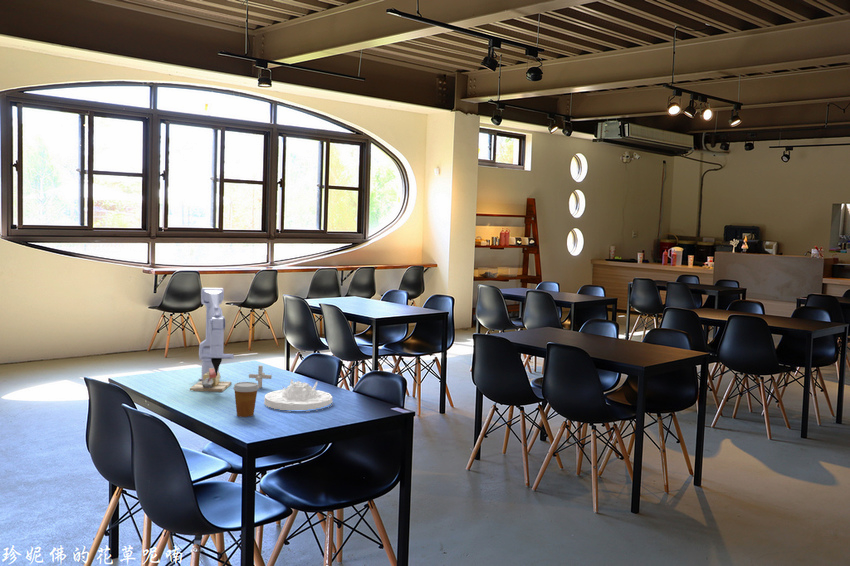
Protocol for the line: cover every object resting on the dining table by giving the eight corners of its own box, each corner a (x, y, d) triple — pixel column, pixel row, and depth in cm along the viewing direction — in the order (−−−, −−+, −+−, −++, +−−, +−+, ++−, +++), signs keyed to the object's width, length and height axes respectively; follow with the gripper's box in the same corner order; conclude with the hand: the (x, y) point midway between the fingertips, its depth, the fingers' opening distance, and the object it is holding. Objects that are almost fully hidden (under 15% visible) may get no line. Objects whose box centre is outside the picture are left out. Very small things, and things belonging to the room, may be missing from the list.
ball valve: (210, 382, 325) (210, 368, 325) (222, 382, 325) (222, 368, 325) (199, 389, 309) (199, 374, 309) (212, 390, 309) (212, 375, 309)
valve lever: (208, 370, 318) (208, 367, 318) (214, 370, 318) (214, 367, 318) (209, 377, 303) (209, 374, 303) (216, 377, 304) (216, 374, 304)
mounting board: (200, 383, 325) (200, 380, 325) (231, 384, 326) (231, 381, 325) (189, 390, 309) (189, 387, 309) (221, 391, 310) (222, 389, 309)
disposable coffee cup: (232, 418, 267) (233, 387, 266) (232, 412, 276) (233, 381, 275) (258, 417, 270) (259, 386, 269) (257, 411, 279) (258, 381, 278)
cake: (277, 415, 276) (278, 391, 276) (255, 399, 300) (256, 377, 300) (343, 409, 290) (343, 386, 290) (317, 394, 314) (318, 373, 314)
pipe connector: (268, 390, 317) (268, 368, 316) (246, 389, 317) (246, 367, 316) (273, 385, 327) (274, 364, 326) (252, 384, 327) (252, 363, 326)
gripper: (199, 346, 303) (198, 377, 304) (234, 345, 307) (233, 376, 308) (199, 343, 310) (198, 374, 311) (233, 343, 314) (233, 373, 315)
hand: (216, 375), depth 310 cm, fingers closed
